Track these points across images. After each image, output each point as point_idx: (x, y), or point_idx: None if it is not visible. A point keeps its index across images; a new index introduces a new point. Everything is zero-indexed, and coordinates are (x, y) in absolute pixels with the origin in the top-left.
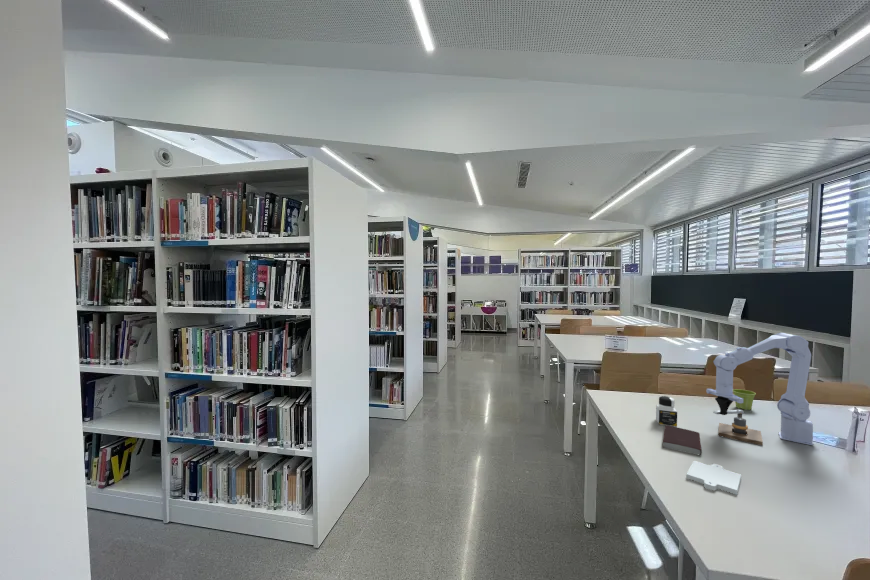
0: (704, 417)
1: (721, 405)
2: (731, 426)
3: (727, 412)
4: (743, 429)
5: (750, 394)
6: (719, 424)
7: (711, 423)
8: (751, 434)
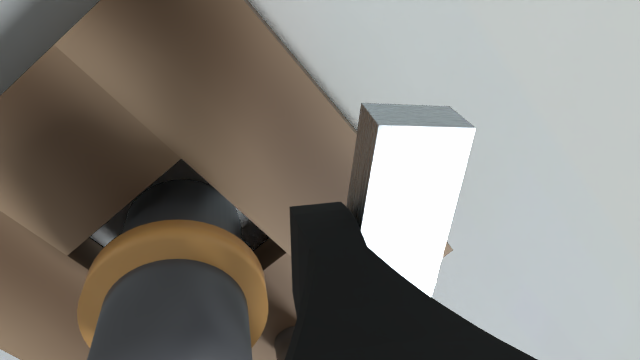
0: (629, 264)
1: (357, 348)
2: None
3: None
4: (88, 274)
5: None
6: None
7: (511, 208)
8: None
